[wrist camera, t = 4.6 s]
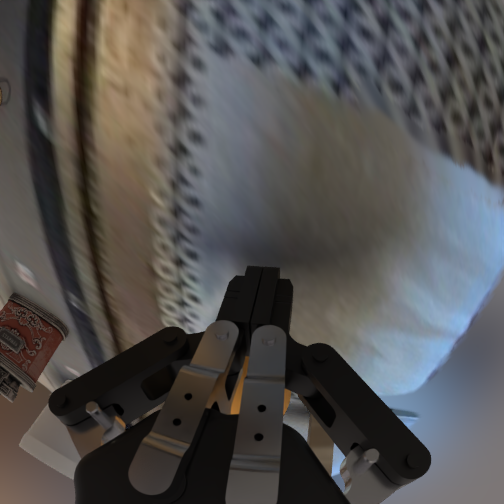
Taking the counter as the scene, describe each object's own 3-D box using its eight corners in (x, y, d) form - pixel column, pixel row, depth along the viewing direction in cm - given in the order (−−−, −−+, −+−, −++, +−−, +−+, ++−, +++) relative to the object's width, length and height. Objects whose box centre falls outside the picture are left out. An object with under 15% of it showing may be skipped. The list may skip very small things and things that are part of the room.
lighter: (66, 321, 24) (13, 405, 16) (71, 340, 26) (25, 418, 18) (9, 287, 24) (-45, 356, 16) (16, 307, 26) (-31, 373, 18)
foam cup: (54, 363, 32) (11, 441, 22) (114, 398, 33) (77, 482, 23) (60, 387, 38) (27, 451, 27) (111, 415, 39) (82, 484, 28)
